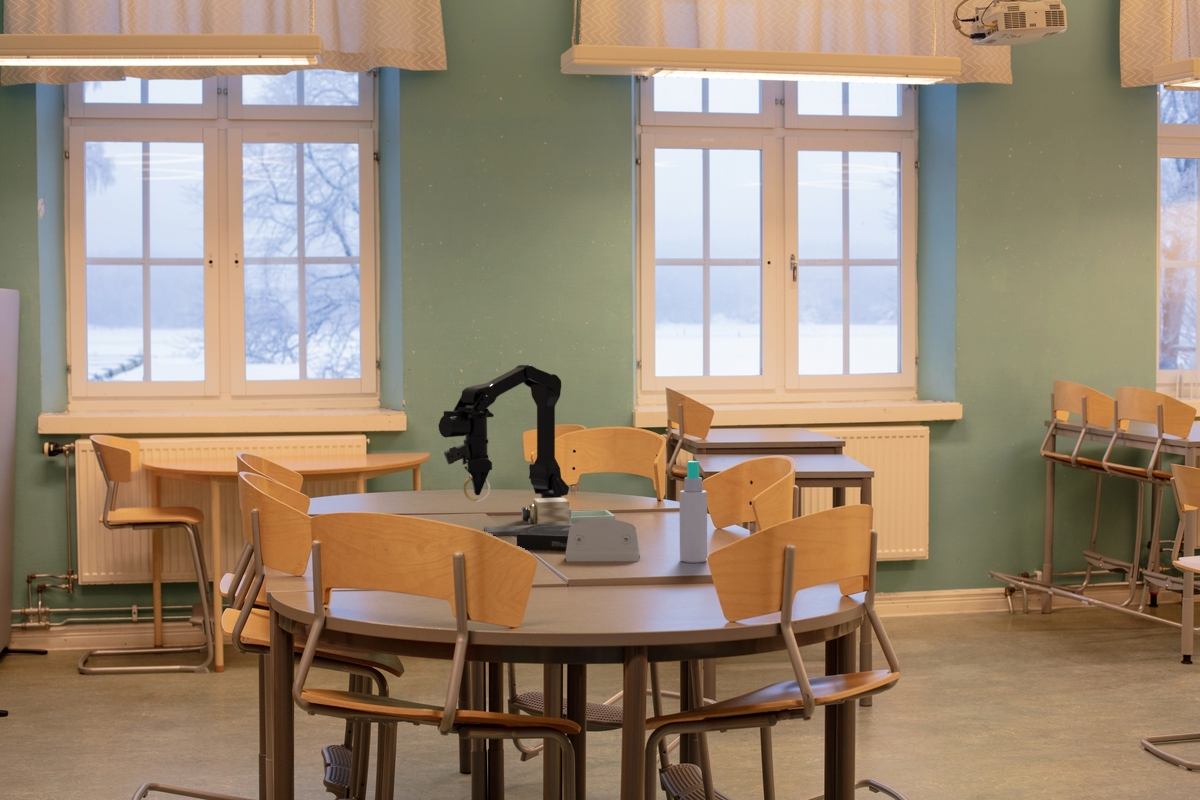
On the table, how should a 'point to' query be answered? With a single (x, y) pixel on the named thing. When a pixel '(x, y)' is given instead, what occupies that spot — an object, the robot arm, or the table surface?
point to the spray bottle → (693, 517)
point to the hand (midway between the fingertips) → (477, 494)
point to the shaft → (532, 514)
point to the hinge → (602, 541)
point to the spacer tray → (589, 515)
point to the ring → (476, 498)
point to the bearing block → (539, 516)
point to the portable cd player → (544, 537)
